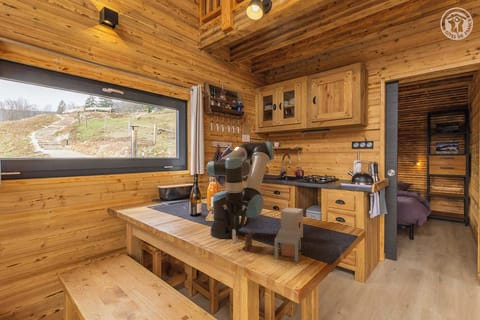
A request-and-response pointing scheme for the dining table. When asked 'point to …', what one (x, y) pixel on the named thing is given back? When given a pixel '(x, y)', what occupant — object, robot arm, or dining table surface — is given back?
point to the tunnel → (288, 240)
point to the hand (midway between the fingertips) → (235, 242)
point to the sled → (260, 249)
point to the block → (287, 249)
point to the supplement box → (292, 219)
